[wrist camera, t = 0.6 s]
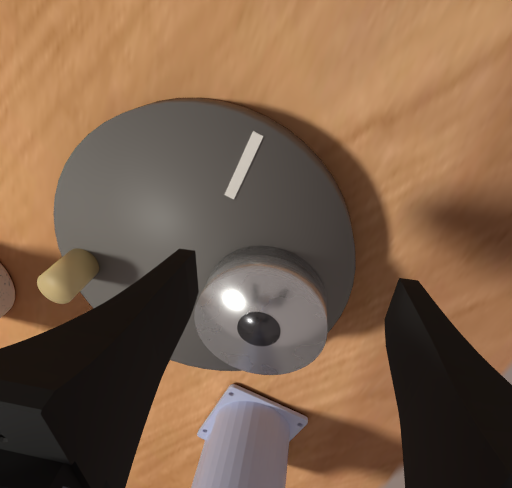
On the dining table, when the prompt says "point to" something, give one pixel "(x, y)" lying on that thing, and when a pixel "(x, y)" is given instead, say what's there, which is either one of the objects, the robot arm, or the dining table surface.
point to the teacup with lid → (6, 291)
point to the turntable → (193, 205)
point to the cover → (263, 311)
